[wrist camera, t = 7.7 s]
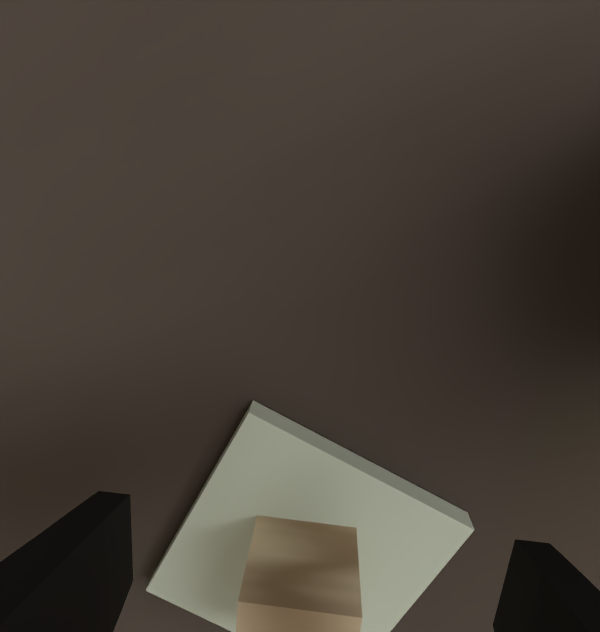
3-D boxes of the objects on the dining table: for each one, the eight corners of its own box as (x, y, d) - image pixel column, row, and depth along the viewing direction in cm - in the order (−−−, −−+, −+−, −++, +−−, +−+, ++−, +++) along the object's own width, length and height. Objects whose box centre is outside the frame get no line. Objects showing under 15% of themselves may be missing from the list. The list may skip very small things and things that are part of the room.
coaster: (467, 512, 19) (474, 529, 18) (344, 663, 22) (345, 685, 21) (253, 400, 19) (248, 412, 18) (154, 572, 21) (145, 590, 20)
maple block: (356, 527, 19) (362, 617, 15) (344, 605, 20) (347, 707, 16) (257, 515, 19) (237, 601, 15) (250, 593, 20) (231, 691, 16)
